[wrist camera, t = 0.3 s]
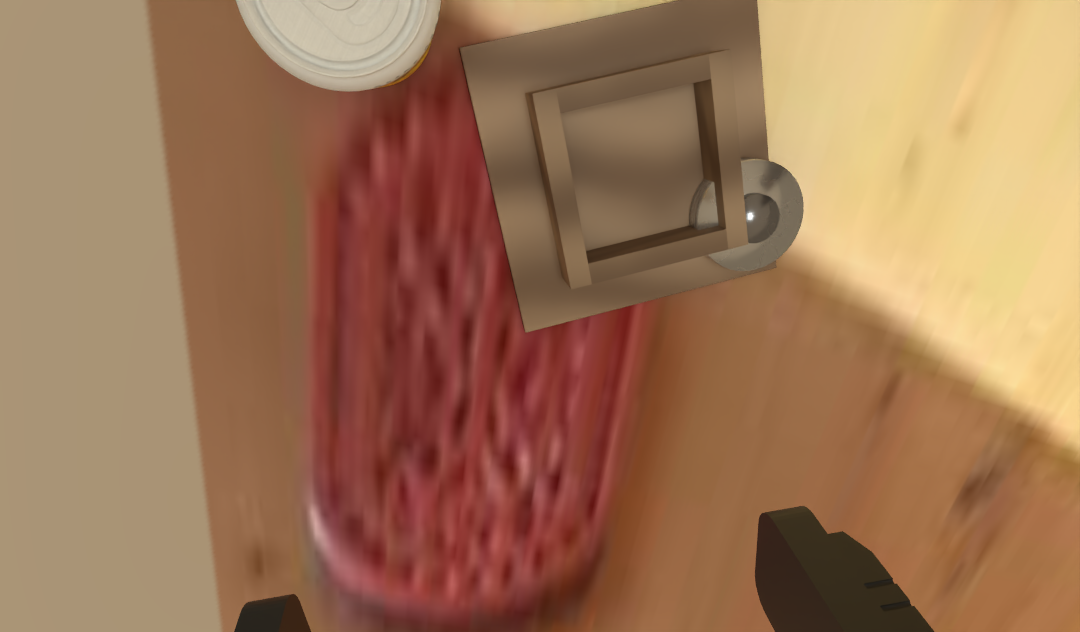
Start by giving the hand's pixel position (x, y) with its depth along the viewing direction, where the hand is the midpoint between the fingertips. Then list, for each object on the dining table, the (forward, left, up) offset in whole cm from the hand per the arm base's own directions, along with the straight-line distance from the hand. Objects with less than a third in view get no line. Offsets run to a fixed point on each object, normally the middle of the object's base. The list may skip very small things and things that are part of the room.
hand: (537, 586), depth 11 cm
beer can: (-12, -1, -28) cm, 30 cm away
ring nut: (+2, +17, -27) cm, 32 cm away
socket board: (-2, +11, -27) cm, 29 cm away
